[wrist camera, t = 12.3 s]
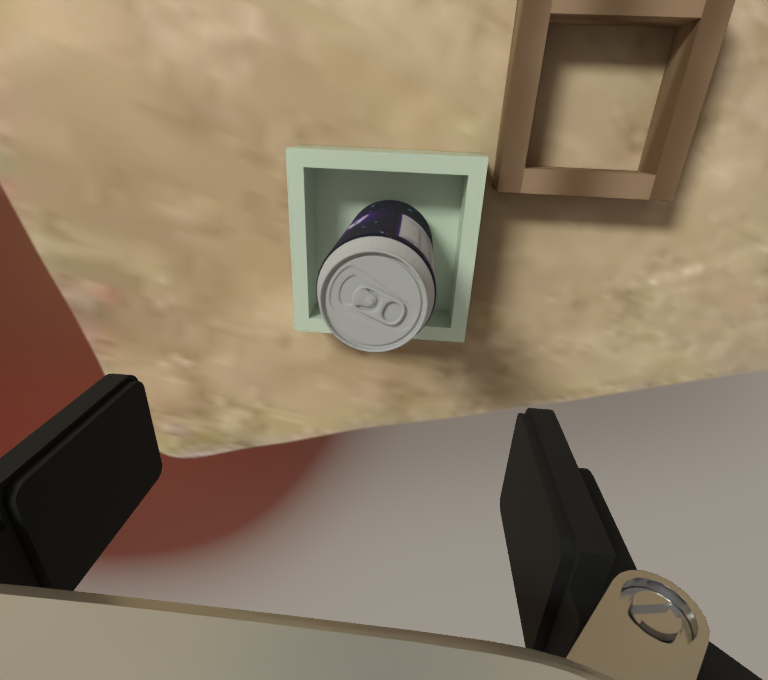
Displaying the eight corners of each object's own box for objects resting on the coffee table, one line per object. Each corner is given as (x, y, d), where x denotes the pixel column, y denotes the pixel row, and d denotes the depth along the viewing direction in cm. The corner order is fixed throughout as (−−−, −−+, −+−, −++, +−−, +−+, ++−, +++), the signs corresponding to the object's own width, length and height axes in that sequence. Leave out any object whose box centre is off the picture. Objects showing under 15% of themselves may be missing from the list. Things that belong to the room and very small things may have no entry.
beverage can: (371, 182, 29) (340, 216, 18) (447, 222, 30) (461, 278, 19) (336, 258, 31) (291, 327, 21) (408, 293, 32) (400, 379, 21)
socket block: (711, -3, 24) (740, -16, 22) (653, 195, 29) (673, 200, 27) (518, -9, 25) (528, -22, 23) (491, 186, 30) (497, 191, 27)
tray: (480, 153, 29) (488, 157, 25) (459, 319, 34) (464, 342, 30) (302, 144, 29) (285, 147, 26) (308, 309, 34) (294, 330, 31)
